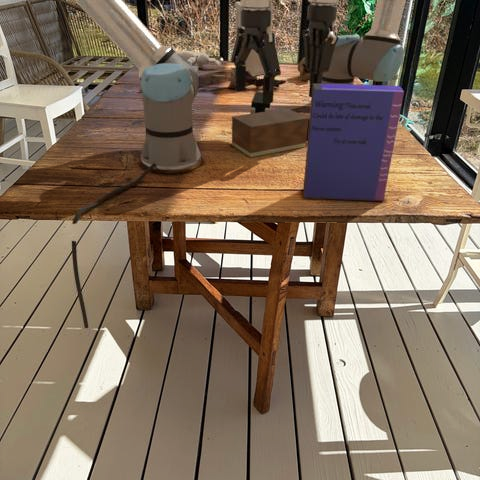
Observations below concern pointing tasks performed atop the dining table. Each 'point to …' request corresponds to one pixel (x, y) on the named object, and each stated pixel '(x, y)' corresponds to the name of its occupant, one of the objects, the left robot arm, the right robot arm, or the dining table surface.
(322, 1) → the right robot arm
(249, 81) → the figurine
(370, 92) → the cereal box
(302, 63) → the anatomical model
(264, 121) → the wooden chest box
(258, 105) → the figurine character
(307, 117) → the drawer
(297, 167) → the dining table surface
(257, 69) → the paper bag
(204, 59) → the toy
